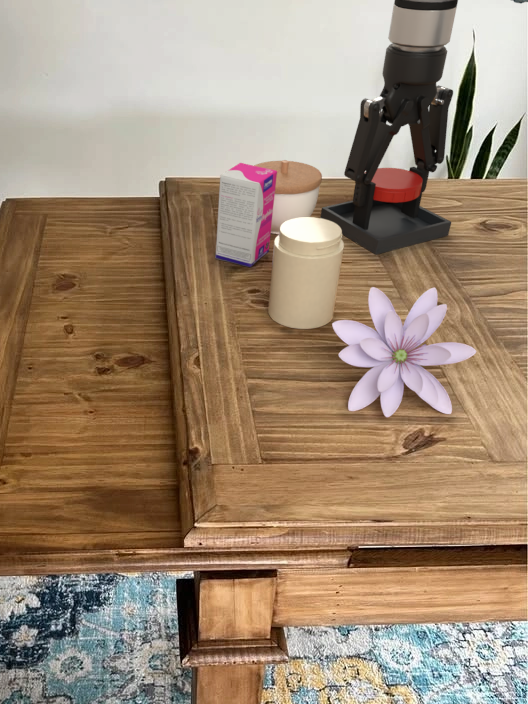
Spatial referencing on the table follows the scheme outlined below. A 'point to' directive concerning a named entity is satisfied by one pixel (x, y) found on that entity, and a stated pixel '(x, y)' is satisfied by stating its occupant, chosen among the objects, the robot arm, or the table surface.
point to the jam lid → (396, 185)
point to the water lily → (399, 353)
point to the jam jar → (305, 272)
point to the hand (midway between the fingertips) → (384, 220)
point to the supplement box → (245, 214)
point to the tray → (387, 226)
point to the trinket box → (293, 191)
